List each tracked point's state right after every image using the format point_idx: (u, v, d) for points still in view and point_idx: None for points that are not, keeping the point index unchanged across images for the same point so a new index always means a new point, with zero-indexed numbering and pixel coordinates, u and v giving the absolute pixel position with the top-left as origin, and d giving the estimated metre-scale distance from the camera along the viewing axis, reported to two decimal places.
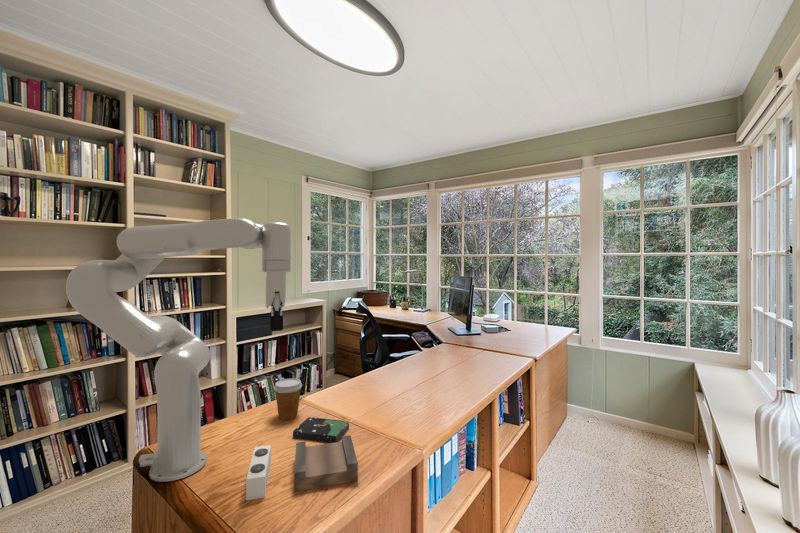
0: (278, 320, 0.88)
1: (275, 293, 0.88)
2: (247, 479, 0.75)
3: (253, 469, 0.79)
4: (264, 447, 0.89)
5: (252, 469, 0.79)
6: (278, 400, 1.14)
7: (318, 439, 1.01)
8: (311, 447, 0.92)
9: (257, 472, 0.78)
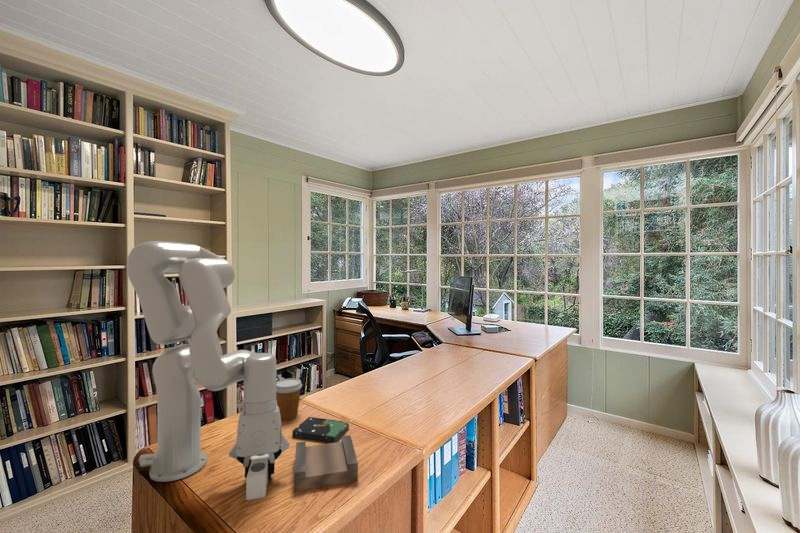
0: (274, 463, 0.84)
1: None
2: (247, 478, 0.75)
3: (253, 468, 0.79)
4: None
5: (252, 468, 0.79)
6: (278, 400, 1.14)
7: (317, 439, 1.01)
8: (311, 447, 0.92)
9: (257, 471, 0.78)
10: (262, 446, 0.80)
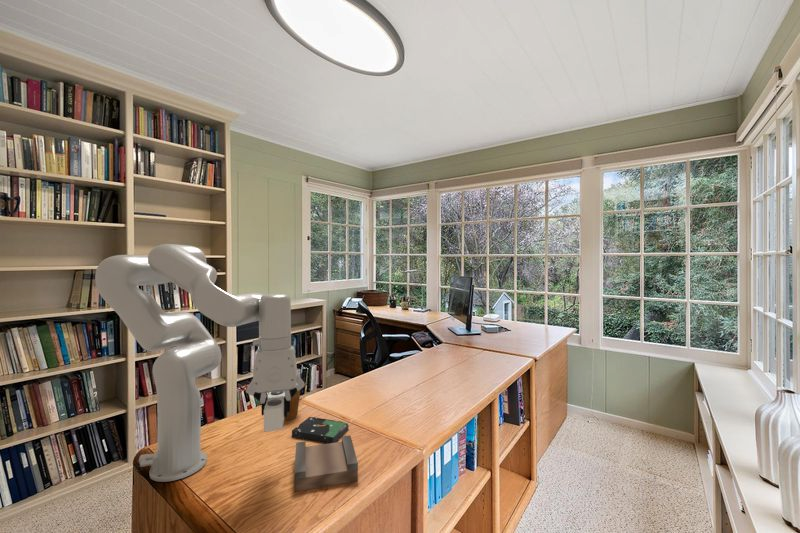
0: None
1: None
2: (265, 410, 0.76)
3: (270, 403, 0.79)
4: None
5: (269, 403, 0.79)
6: None
7: (316, 439, 1.01)
8: (311, 447, 0.92)
9: (274, 405, 0.79)
10: (278, 382, 0.81)
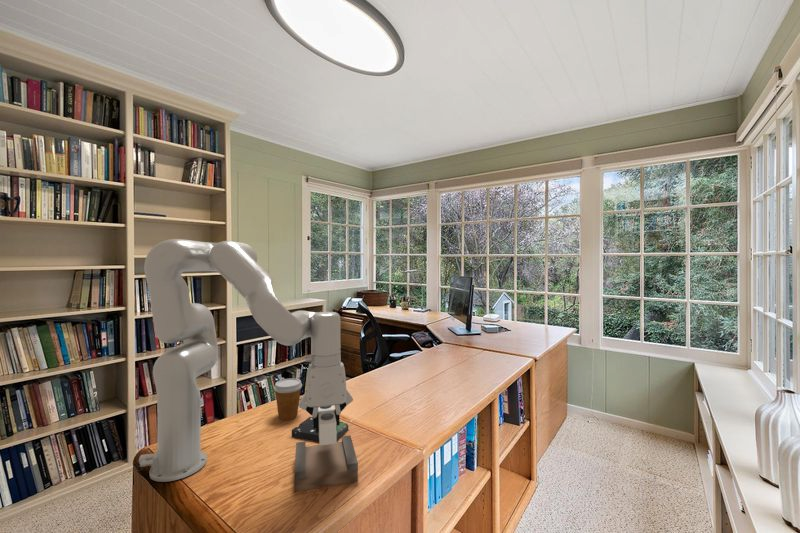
0: None
1: (345, 388, 0.88)
2: (320, 424, 0.80)
3: (323, 417, 0.83)
4: None
5: (322, 417, 0.83)
6: (278, 400, 1.14)
7: (315, 439, 1.01)
8: (311, 447, 0.92)
9: (328, 419, 0.82)
10: (330, 397, 0.84)
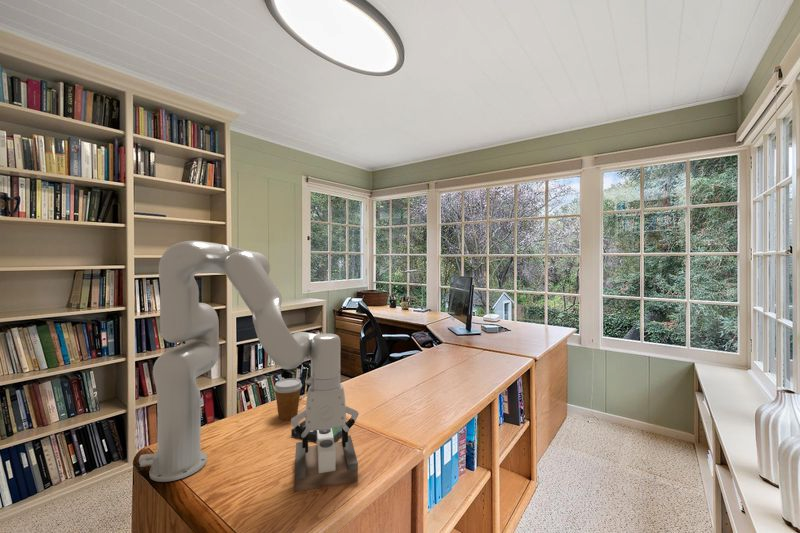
0: None
1: (346, 407, 0.88)
2: (319, 452, 0.81)
3: (322, 444, 0.84)
4: None
5: (322, 444, 0.84)
6: (278, 400, 1.14)
7: (314, 439, 1.01)
8: (311, 447, 0.92)
9: (327, 447, 0.83)
10: (329, 420, 0.84)
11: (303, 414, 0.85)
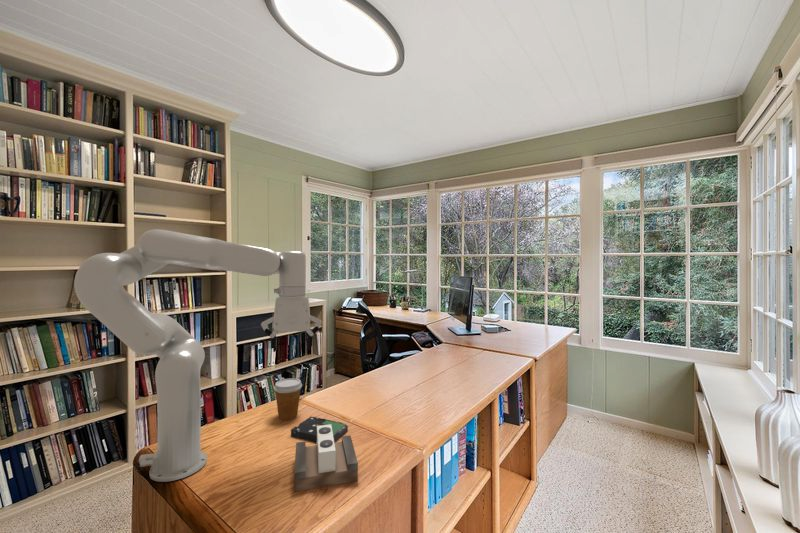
0: None
1: (310, 315, 1.00)
2: (319, 452, 0.81)
3: (322, 444, 0.84)
4: (326, 426, 0.94)
5: (322, 444, 0.84)
6: (278, 400, 1.14)
7: (313, 440, 1.01)
8: (311, 447, 0.92)
9: (327, 447, 0.83)
10: (295, 324, 0.97)
11: (272, 318, 0.97)
